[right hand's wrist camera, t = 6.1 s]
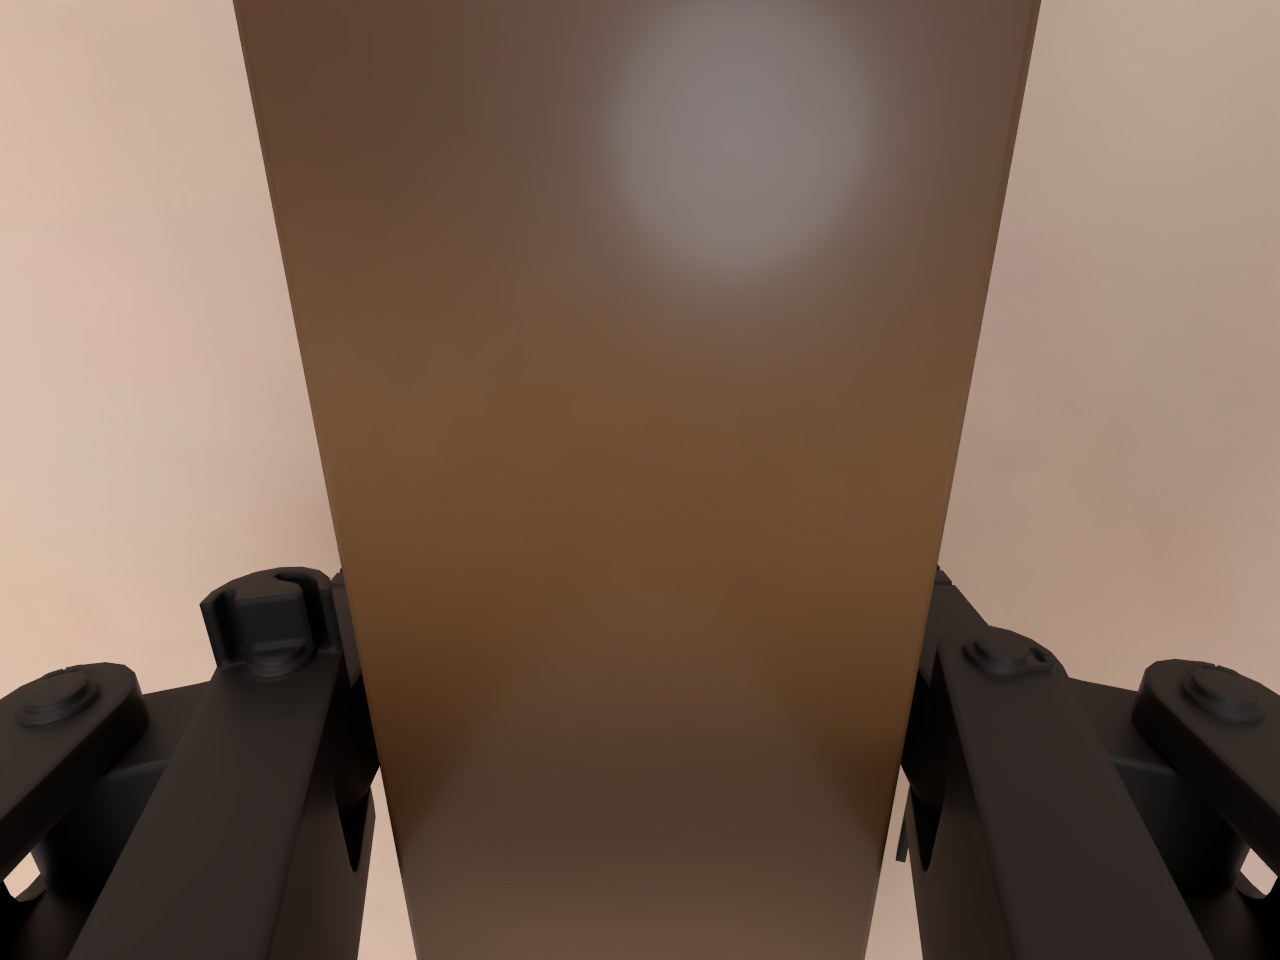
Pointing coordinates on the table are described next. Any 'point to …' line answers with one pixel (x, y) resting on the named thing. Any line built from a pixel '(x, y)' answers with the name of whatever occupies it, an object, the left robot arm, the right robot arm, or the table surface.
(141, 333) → the table surface
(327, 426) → the post
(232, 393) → the table surface
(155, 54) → the table surface
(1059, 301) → the table surface
